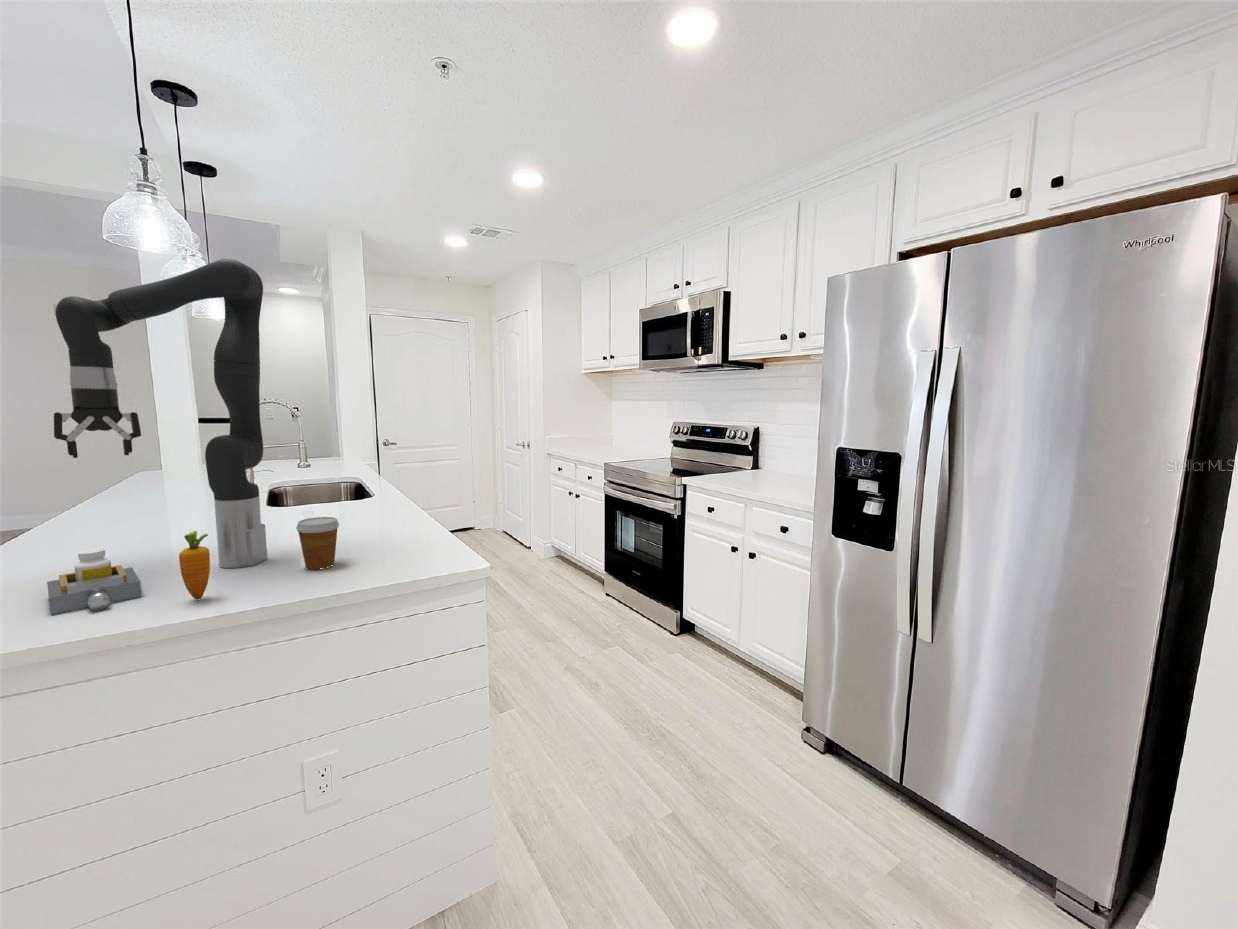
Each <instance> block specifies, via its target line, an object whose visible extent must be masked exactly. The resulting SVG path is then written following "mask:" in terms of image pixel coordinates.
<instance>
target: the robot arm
mask: <svg viewBox="0 0 1238 929" xmlns="http://www.w3.org/2000/svg"><path fill="white" fill-rule="evenodd" d="M263 296H264V284H263V280H262V279H261V277H260V275H259V274H258V272H257V271H256V270H254V269H253V268H252V267H250V266H248V265H246V264H245V263H242V262H240V261H238V260H236V259H232V258H221V259H218V260H216V261H212V262H210V263H207V264H205V265H202V266H200V267H198V268H194V269H193V270H189V271H187V272H184V273H182V274H179V275H176V276H172V277H169V278H166V279H162V280H158V281H154V282H149V283H146V284H145V283H144V284H141V285H140V284H139V285H135V286H134V285H133V286H130V287H125V288H122V289H117V290H114V291H112V292H110V293H109V294H108V297H107V298H104V299H99V300H92V299H87V298H85V297H80V296H76V295H75V296H72V295H70V296H67V297H63V298H62V299H60V300H59V302H58V303H57V305H56V308H55V318H56V321H57V322H56V323H57V325H58V328H59V330H60V333H61V335H62V337H63V340H64V342H65V343H66V345H67V348H68V357H69V366H70V367H69V385H70V392H71V400H72V402H71V403H72V412H71V413H69V412H68V413H67V412H54V413H53V436H54V438H55V439H56V440H61V441H65V442H66V445H67V446H66V447H67V453H68V455H69V456H70V457H71V456H72V458H73V459H78V458H79V457H78V456H79V454H78V447H77V441H75V440H76V439H77V438H78V437H79V435H81V434H82V433H83V432H84V431H88V432H89V431H90V432H93V431H94V432H95V431H104V432H105V431H107V432H108V431H111V430H113V431H115V432H116V433H117V434H118V435H120V436H121V437H122V438H123V439H122V447H123V448H122V449H123V455H124V456H130V454H131V453H132V452H133V443H132V440H133V439H135V438H138V437H141V436H142V431H141V425H140V421H139V415H138V413H137V412H136V411H135V412H134V411H131V412H123V413H122V412H121V411H120V405H119V398H118V397H119V396H118V383H117V377H116V374H115V370H114V369H115V368H114V361H113V360H114V358H113V353H112V348H111V347H110V346H109V345H108V344H107V343H106V342H104V341H102V340H101V337H100V333H103V332H104V333H105V332H108V331H114V330H116V329H119V328H122V327H124V326H126V325H128V324H130V323H131V324H132V323H133V322H134V321H135V322H136V321H142V320H145V319H149V318H153V317H158V316H162V315H164V314H168V313H170V312H173V311H176V310H177V309H179V308H182V307H183V306H185V305H188V304H191V303H194V302H198V301H202V300H207V299H218V298H219V299H220V298H222V299H223V301H224V323H223V328H221V329H222V330H221V332H220V335H219V338H218V340H217V343H216V346H215V347H214V348H215V349H214V353H213V378H214V383H215V386H216V388H217V390H218V393H219V395H220V397H221V399H222V400H223V402H224V404H225V406H226V409H227V411H228V415H229V434H226V435H225V434H224V435H223V434H222V435H218V436H215V437H213V438H211V439H210V440H209V441H208V443H207V444H206V447H205V451H204V452H205V453H204V457H205V458H204V459H205V466H206V474H207V480H208V486H209V488H210V490H211V492H212V494H213V498H214V512H215V525H216V527H215V528H216V539H217V540H216V541H217V552H218V563H219V564H218V565H219V567H220V568H225V569H236V568H243V567H252V566H253V567H254V566H256V565H258V564H260V563H262V562H263V561H266V560H267V559H268V549H267V548H268V547H267V533H266V525H265V524H264V523H262V519H261V503H260V502H261V501H260V500H261V499H260V488H259V486H258V485H257V484H256V483H252V482H250V481H249V480H248V476H247V471H246V470H248V469H253V468H255V467H257V466H258V465H259V464H260V463H261V461H262V460H263V456H264V443H263V441H264V440H263V433H262V427H261V426H262V423H261V412H260V410H261V407H260V405H261V404H260V403H261V402H260V401H261V400H260V396H261V395H260V385H261V384H260V383H261V361H260V360H261V356H260V354H261V353H260V352H261V351H260V348H261V347H260V344H261V343H260V318H261V309H262V301H263ZM69 418H70V419H72V420H73V421H74V422H75V423H77V425H76V426H75V427H74V429H72V431H71V432H70V433H68V434H64V433H63V423H66V422H67V421H68V419H69ZM123 418H124V419H125V420H126V421H127V422H130V424H131V429H132V432H130V433H128V432H127V431H126V430H125V429H124V428H122V427H121V426H120V425H119V424H118V423H120V421H121V420H122V419H123Z"/></svg>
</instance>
